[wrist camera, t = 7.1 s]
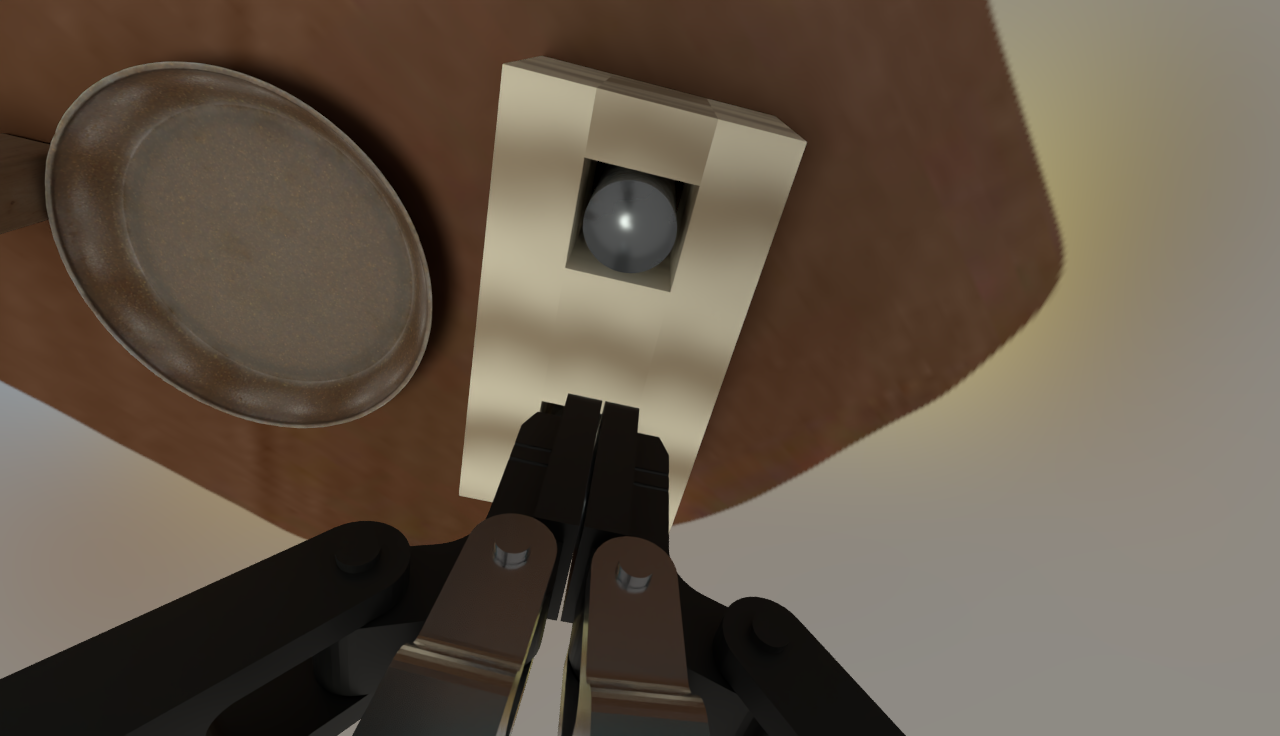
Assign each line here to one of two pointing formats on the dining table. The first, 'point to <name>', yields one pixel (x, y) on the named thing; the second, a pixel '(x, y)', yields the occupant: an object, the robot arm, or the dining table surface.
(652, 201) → the inner peg
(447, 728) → the robot arm
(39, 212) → the wooden block
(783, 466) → the dining table surface
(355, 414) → the plant saucer
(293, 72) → the dining table surface
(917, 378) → the dining table surface
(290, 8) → the dining table surface
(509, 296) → the birch block
